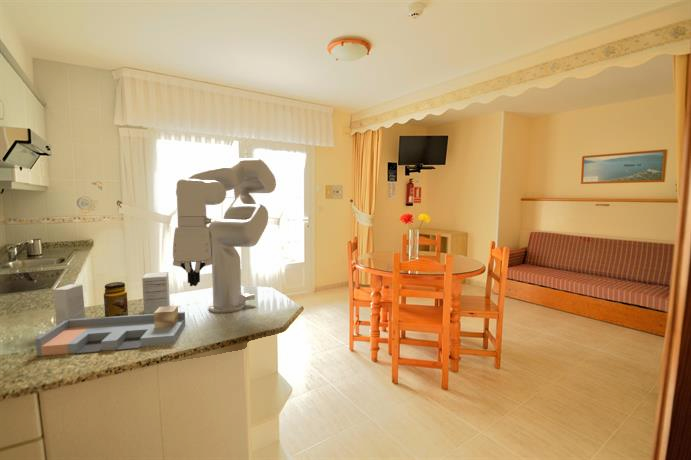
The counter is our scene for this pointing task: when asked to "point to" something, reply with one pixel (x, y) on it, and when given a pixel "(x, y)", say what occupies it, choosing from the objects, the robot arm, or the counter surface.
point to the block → (166, 316)
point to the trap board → (107, 334)
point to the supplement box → (155, 291)
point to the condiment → (115, 300)
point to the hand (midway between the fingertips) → (194, 284)
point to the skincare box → (69, 302)
